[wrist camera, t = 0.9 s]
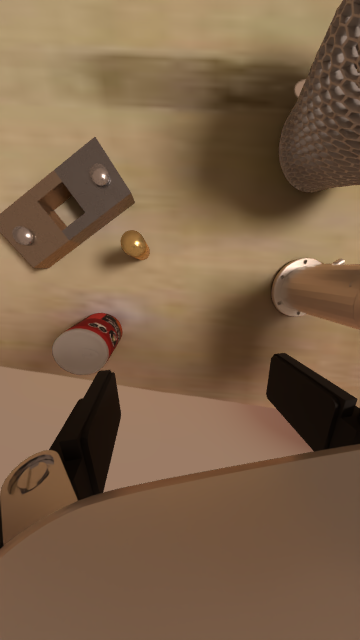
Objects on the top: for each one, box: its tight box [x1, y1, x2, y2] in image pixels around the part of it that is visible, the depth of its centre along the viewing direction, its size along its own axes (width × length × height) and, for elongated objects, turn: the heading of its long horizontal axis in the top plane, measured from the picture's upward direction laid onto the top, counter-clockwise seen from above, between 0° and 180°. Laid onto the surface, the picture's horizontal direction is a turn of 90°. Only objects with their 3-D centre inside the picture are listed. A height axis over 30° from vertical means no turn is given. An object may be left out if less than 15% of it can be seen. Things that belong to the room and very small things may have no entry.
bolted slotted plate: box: [0, 137, 135, 268], centre depth 28 cm, size 20×8×5 cm, turn 124°
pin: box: [121, 230, 150, 260], centre depth 28 cm, size 3×3×10 cm
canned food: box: [52, 313, 122, 375], centre depth 31 cm, size 8×8×11 cm
